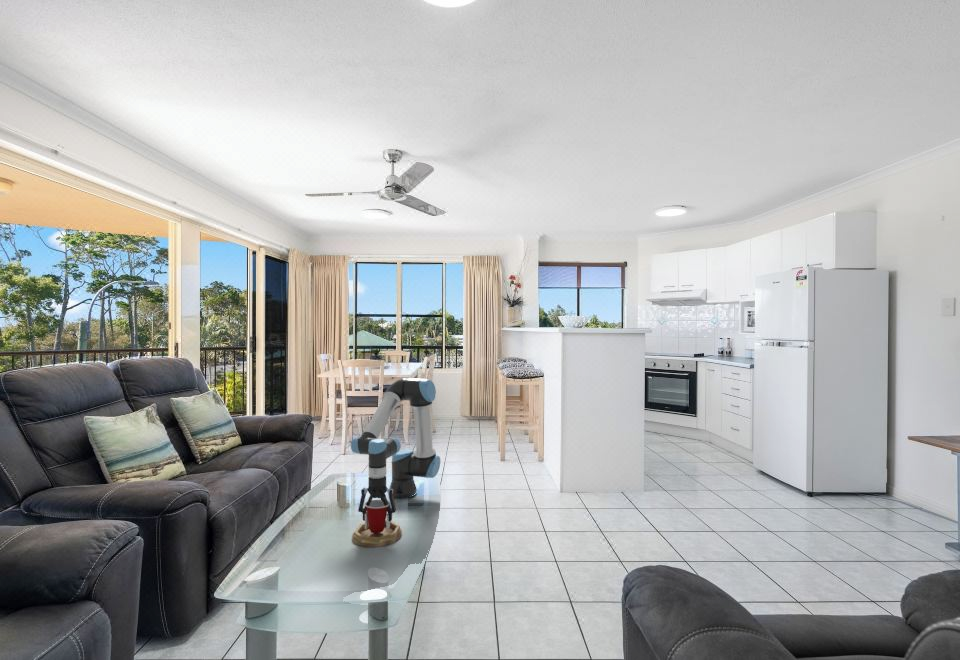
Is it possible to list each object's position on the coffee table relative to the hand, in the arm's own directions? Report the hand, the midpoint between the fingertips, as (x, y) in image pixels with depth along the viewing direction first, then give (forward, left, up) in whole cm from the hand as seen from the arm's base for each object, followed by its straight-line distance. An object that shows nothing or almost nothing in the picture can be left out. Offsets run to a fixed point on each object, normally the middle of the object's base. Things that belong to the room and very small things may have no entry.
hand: (377, 528), depth 193 cm
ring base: (0, 0, -3) cm, 3 cm away
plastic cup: (0, 0, -1) cm, 1 cm away
